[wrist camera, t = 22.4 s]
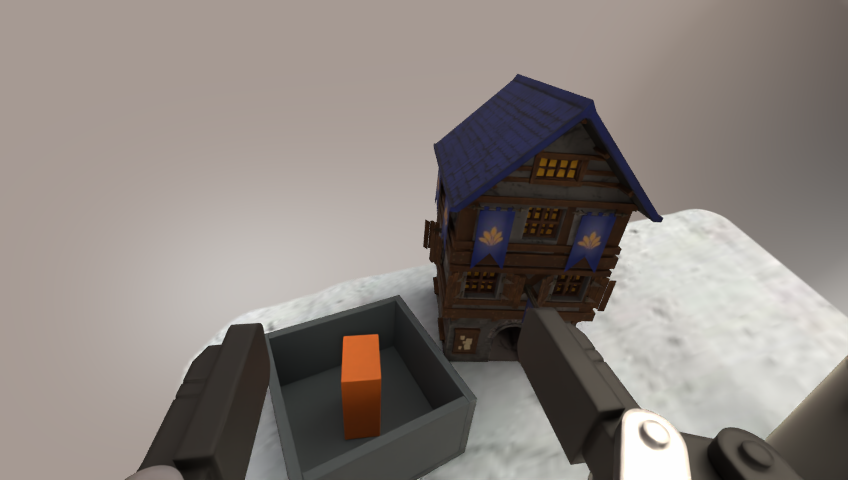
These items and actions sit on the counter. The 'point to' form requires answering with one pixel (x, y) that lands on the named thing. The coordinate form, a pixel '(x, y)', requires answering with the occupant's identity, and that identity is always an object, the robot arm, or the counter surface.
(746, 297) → the counter surface
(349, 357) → the block
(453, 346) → the miniature building
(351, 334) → the bin
